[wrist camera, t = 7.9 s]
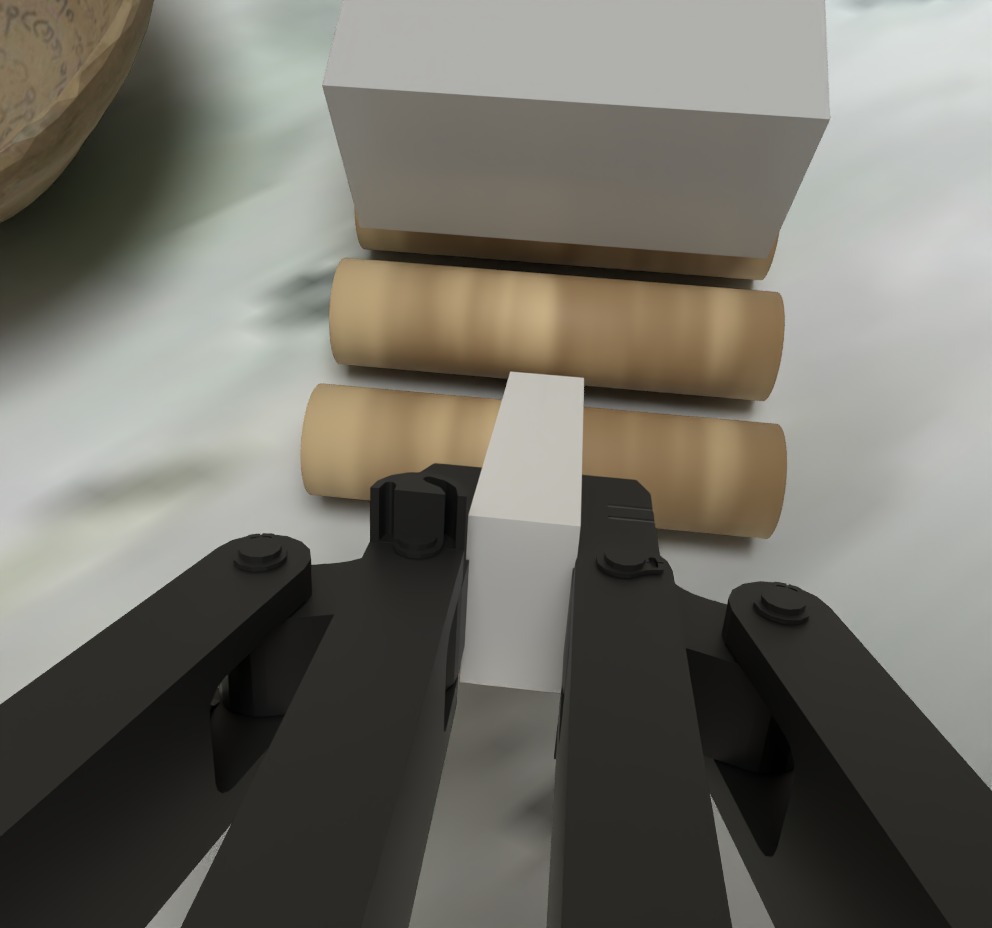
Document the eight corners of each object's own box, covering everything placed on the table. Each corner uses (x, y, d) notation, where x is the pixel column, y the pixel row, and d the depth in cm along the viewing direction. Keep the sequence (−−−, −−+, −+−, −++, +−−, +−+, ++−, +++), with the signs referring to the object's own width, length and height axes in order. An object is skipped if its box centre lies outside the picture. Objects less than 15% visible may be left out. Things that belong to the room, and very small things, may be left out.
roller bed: (754, 120, 29) (780, 47, 26) (755, 552, 23) (787, 517, 20) (399, 96, 30) (388, 22, 27) (319, 509, 24) (292, 470, 21)
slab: (764, -12, 27) (816, -185, 22) (767, 258, 23) (830, 119, 18) (413, -32, 27) (391, -204, 23) (360, 227, 24) (322, 84, 19)
